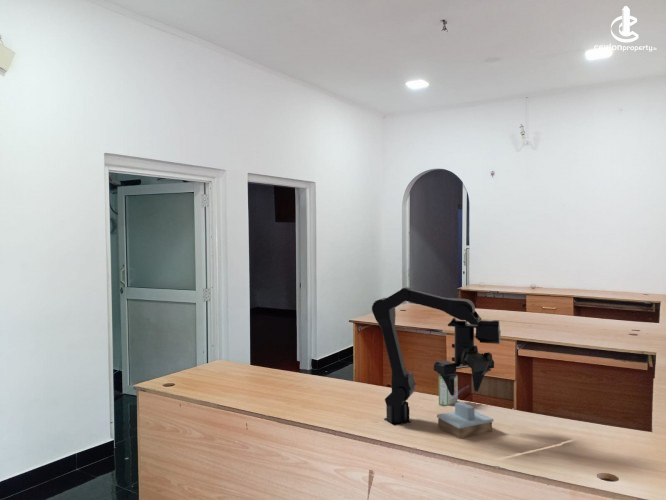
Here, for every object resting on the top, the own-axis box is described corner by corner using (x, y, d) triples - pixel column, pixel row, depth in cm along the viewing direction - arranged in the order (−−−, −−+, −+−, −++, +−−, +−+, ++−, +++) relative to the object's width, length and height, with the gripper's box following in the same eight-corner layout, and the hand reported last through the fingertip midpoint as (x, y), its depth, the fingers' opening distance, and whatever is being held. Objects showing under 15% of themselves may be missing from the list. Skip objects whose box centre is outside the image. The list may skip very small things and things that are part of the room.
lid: (459, 428, 148) (459, 413, 148) (436, 417, 158) (436, 403, 158) (493, 421, 153) (493, 407, 153) (469, 411, 163) (469, 397, 163)
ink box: (448, 407, 178) (448, 368, 178) (438, 405, 180) (438, 366, 180) (458, 402, 183) (457, 364, 183) (447, 400, 186) (447, 363, 186)
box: (459, 440, 148) (459, 427, 148) (438, 428, 157) (438, 417, 157) (491, 433, 154) (491, 421, 153) (469, 422, 163) (469, 411, 163)
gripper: (456, 349, 144) (456, 405, 144) (507, 343, 152) (507, 396, 152) (432, 342, 154) (432, 394, 154) (481, 337, 162) (481, 386, 162)
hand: (464, 393), depth 155 cm, fingers open, 9 cm apart
